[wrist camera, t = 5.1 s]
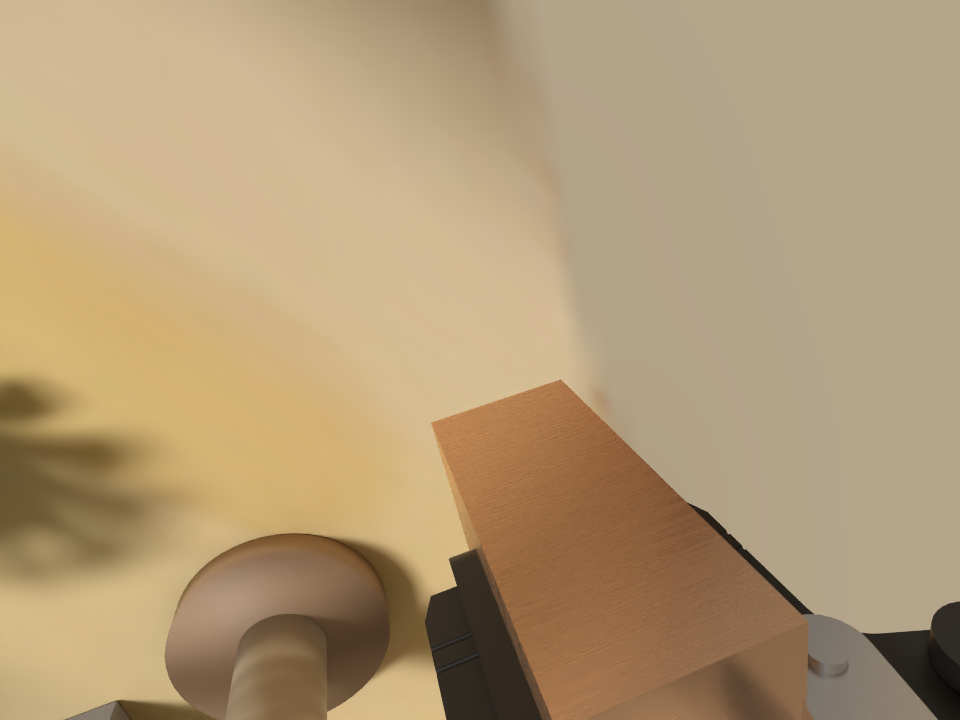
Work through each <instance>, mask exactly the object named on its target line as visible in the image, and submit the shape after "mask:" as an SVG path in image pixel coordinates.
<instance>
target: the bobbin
mask: <svg viewBox="0 0 960 720" xmlns="http://www.w3.org/2000/svg"><path fill="white" fill-rule="evenodd" d="M389 630H390V629H389V621H388V613H387V606H386V598H385V591H384V588H383V585H382V582H381V580H380V578H379V576H378V574H377V572H376V571H375V569H374V568H373V567H372V565H371V564H370V563H369V562H368V561H367V560H366V559H365V558H364V557H363V556H361V555H360V554H359V553H357V552H356V551H355V550H353V549H351V548H349V547H348V546H346V545H344V544H342V543H339V542H337V541H334V540H331V539H327V538H323V537H320V536H313V535H306V534H283V535H273V536H268V537H262V538H258V539H255V540H251V541H248V542H245V543H243V544H240V545H238V546H235V547H233V548H231V549H229V550H227V551H226V552H224V553H222V554H220V555H219V556H217V557H216V558H214V559H213V560H211V561H210V562H209V563H208V564H206V565H205V566H204V567H203V568H202V569H201V570H200V571H199V572H198V573H197V574H196V575H195V576H194V577H193V579H192V580H191V581H190V582H189V584H188V585H187V587H186V589H185V590H184V592H183V594H182V596H181V598H180V601H179V603H178V606H177V609H176V612H175V615H174V619H173V622H172V625H171V628H170V631H169V634H168V638H167V642H166V648H165V662H166V669H167V672H168V675H169V678H170V680H171V682H172V684H173V686H174V688H175V689H176V690H177V692H178V693H179V694H180V695H181V697H182V698H183V699H185V700H186V701H187V702H188V703H189V704H190V705H191V706H193V707H194V708H196V709H197V710H199V711H200V712H202V713H204V714H206V715H208V716H210V717H213V718H216V719H218V720H327V711H329V710H331V709H333V708H335V707H337V706H338V705H340V704H342V703H343V702H345V701H346V700H348V699H349V698H351V697H352V696H353V695H355V694H356V693H357V692H358V691H359V690H360V689H362V688H363V687H364V685H365V684H366V683H367V682H368V681H369V680H370V679H371V678H372V676H373V675H374V674H375V672H376V671H377V669H378V668H379V666H380V664H381V662H382V660H383V658H384V656H385V653H386V650H387V646H388V642H389Z"/></svg>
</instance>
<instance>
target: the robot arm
mask: <svg viewBox="0 0 960 720" xmlns="http://www.w3.org/2000/svg"><path fill="white" fill-rule="evenodd" d="M688 504H689V503H688ZM689 505H690V506H691V507H692V508H693V509H694V510H695V511H696V512H697V513H698V514H699V515H700V516H701V517H702V518H703V519H704V520H705V521H706V522H707V523H708V524H709V525H710V526H711V527H712V528H713V529H714V530H715V531H716V532H717V533H718V534H719V535H720V536H722V537H723V538H724V539H725V540H726V541H727V542H728V543H729V544H730V545H731V546H732V547H733V548H734V549H735V550H736V551H737V552H738V553H739V554H740V555H741V556H742V557H743V558H744V559H745V560H746V561H747V562H748V563H749V564H750V565H751V566H752V567H753V568H754V569H755V570H756V571H757V572H758V573H759V574H760V575H761V576H763V577H764V578H765V579H766V580H767V581H768V582H769V583H770V584H771V585H772V586H773V587H774V588H775V589H776V590H777V591H778V592H779V593H780V594H781V595H782V596H783V597H784V598H785V599H786V600H787V601H788V602H789V603H790V604H791V605H792V606H793V607H794V608H795V609H796V610H797V611H798V612H799V613H800V614H801V615H803V616H804V617H805V618H806V619H807V620H808V621H809V631H808V670H807V698H806V699H804V700H802V720H960V602H954V603H950V604H947V605H945V606H943V607H941V608H940V609H939V610H938V611H937V612H936V613H935V614H934V616H933V619H932V623H931V629H930V630H922V631H908V632H896V633H883V634H868V633H860V632H859V631H857V630H856V629H855V628H853V627H852V626H850V625H848V624H846V623H844V622H842V621H840V620H837V619H834V618H831V617H827V616H823V615H815V614H813V613H812V612H811V611H810V610H808V609H807V608H806V607H805V606H804V605H803V604H802V603H801V602H800V601H799V600H798V599H797V598H796V597H795V596H794V595H793V594H792V593H791V592H789V591H788V590H787V589H786V588H785V587H784V586H783V585H782V584H781V583H780V582H779V581H778V580H777V579H776V578H775V577H774V576H773V575H772V574H771V573H770V572H769V571H768V570H767V569H766V568H765V567H764V566H763V565H762V564H761V563H760V562H758V560H756V559H755V558H754V557H753V556H752V555H751V554H750V553H749V552H748V551H747V550H744V549H743V547H742V545H741V544H740V543H739V542H738V541H737V540H736V539H735V538H734V537H733V536H732V535H731V534H727V532H726V530H725V529H724V528H723V527H722V526H721V525H720V524H719V523H718V522H717V521H716V520H715V519H714V518H713V517H712V516H711V515H710V514H709V513H708V512H706V511H704V510H702V509H700V508H698V507H696V506H693V505H691V504H689ZM449 561H450V564H451V568H452V571H453V574H454V577H455V581H456V584H457V586H456V587H454V588H451V589H449V590H446V591H443V592H441V593H438V594H436V595H433V596H431V598H430V603H429V607H428V611H427V616H426V620H425V624H426V629H427V633H428V638H429V643H430V647H431V650H432V656H433V661H434V665H435V669H436V673H437V679H438V683H439V688H440V692H441V697H442V701H443V706H444V710H445V715H446V719H447V720H542V718H541V716H540V713H539V710H538V708H537V705H536V703H535V700H534V698H533V695H532V692H531V690H530V687H529V685H528V682H527V680H526V677H525V674H524V672H523V669H522V667H521V664H520V662H519V659H518V656H517V654H516V651H515V649H514V646H513V644H512V641H511V638H510V636H509V633H508V631H507V628H506V626H505V623H504V620H503V618H502V615H501V613H500V610H499V608H498V605H497V602H496V600H495V597H494V595H493V592H492V590H491V587H490V584H489V582H488V579H487V577H486V574H485V572H484V569H483V566H482V564H481V561H480V559H479V556H478V554H477V551H476V549H473V550H470V551H468V552H465V553H462V554H460V555H457V556H454V557H452V558H449Z"/></svg>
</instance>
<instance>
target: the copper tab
mask: <svg viewBox="0 0 960 720" xmlns="http://www.w3.org/2000/svg"><path fill="white" fill-rule="evenodd" d="M431 424H432V427H433V430H434V434H435V437H436V440H437V444H438V447H439V450H440V454H441V457H442V460H443V464H444V467H445V470H446V474H447V477H448V480H449V484H450V487H451V491H452V494H453V497H454V501H455V504H456V507H457V511H458V514H459V517H460V521H461V524H462V527H463V531H464V534H465V537H466V541H467V544H468V547H469V551H470V550H473V549H476V551H477V554H478V556H479V559H480V561H481V564H482V566H483V569H484V572H485V574H486V577H487V579H488V582H489V584H490V587H491V590H492V592H493V595H494V597H495V600H496V602H497V605H498V608H499V610H500V613H501V615H502V618H503V620H504V623H505V626H506V628H507V631H508V633H509V636H510V638H511V641H512V644H513V646H514V649H515V651H516V654H517V656H518V659H519V662H520V664H521V667H522V669H523V672H524V674H525V677H526V680H527V682H528V685H529V687H530V690H531V692H532V695H533V698H534V700H535V703H536V705H537V708H538V710H539V713H540V716H541V718H542V720H802V700H804V699H806V698H807V670H808V631H809V621H808V620H807V619H806V618H805V617H804V616H803V615H801V614H800V613H799V612H798V611H797V610H796V609H795V608H794V607H793V606H792V605H791V604H790V603H789V602H788V601H787V600H786V599H785V598H784V597H783V596H782V595H781V594H780V593H779V592H778V591H777V590H776V589H775V588H774V587H773V586H772V585H771V584H770V583H769V582H768V581H767V580H766V579H765V578H764V577H763V576H761V575H760V574H759V573H758V572H757V571H756V570H755V569H754V568H753V567H752V566H751V565H750V564H749V563H748V562H747V561H746V560H745V559H744V558H743V557H742V556H741V555H740V554H739V553H738V552H737V551H736V550H735V549H734V548H733V547H732V546H731V545H730V544H729V543H728V542H727V541H726V540H725V539H724V538H723V537H722V536H720V535H719V534H718V533H717V532H716V531H715V530H714V529H713V528H712V527H711V526H710V525H709V524H708V523H707V522H706V521H705V520H704V519H703V518H702V517H701V516H700V515H699V514H698V513H697V512H696V511H695V510H694V509H693V508H692V507H691V506H690V505H689V504H688V503H687V502H686V501H684V499H683V498H681V497H680V496H679V495H678V494H677V493H676V492H675V491H674V490H673V489H672V488H671V487H670V486H669V485H668V484H667V483H666V482H665V481H664V480H663V479H662V478H661V477H660V476H659V475H658V474H657V473H656V472H655V471H654V470H653V469H652V468H651V467H650V466H649V465H648V464H647V463H646V462H645V461H644V460H643V459H642V458H641V457H640V456H638V455H637V454H636V453H635V452H634V451H633V450H632V449H631V448H630V447H629V446H628V445H627V444H626V443H625V442H624V441H623V440H622V439H621V438H620V437H619V436H618V435H617V434H616V433H615V432H614V431H613V430H612V429H611V428H610V427H609V426H608V425H607V424H606V423H605V422H604V421H603V420H602V419H601V418H600V417H599V416H597V415H596V414H595V413H594V412H593V411H592V410H591V409H590V408H589V407H588V406H587V405H586V404H585V403H584V402H583V401H582V400H581V399H580V398H579V397H578V396H577V395H576V394H575V393H574V392H573V391H572V390H571V389H570V388H569V387H568V386H567V385H566V384H565V383H564V382H563V381H562V380H558V381H555V382H552V383H549V384H546V385H543V386H540V387H537V388H534V389H531V390H528V391H525V392H522V393H519V394H516V395H513V396H510V397H507V398H504V399H501V400H498V401H495V402H492V403H489V404H486V405H483V406H480V407H477V408H474V409H471V410H468V411H465V412H462V413H459V414H456V415H453V416H450V417H447V418H444V419H441V420H438V421H435V422H432V423H431Z"/></svg>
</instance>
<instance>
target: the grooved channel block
mask: <svg viewBox="0 0 960 720" xmlns="http://www.w3.org/2000/svg"><path fill="white" fill-rule="evenodd" d="M67 720H130V719H129V717H128V716H127V714H126V713H125V712H124V710H123V709H122V708H121V706H120V705H119V703H118V702H117V701H115V702H112V703H110V704H107V705H104V706H102V707H99V708H96V709H94V710H91V711H88V712H85V713H83V714H80V715H77V716H75V717H72V718H69V719H67Z"/></svg>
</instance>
